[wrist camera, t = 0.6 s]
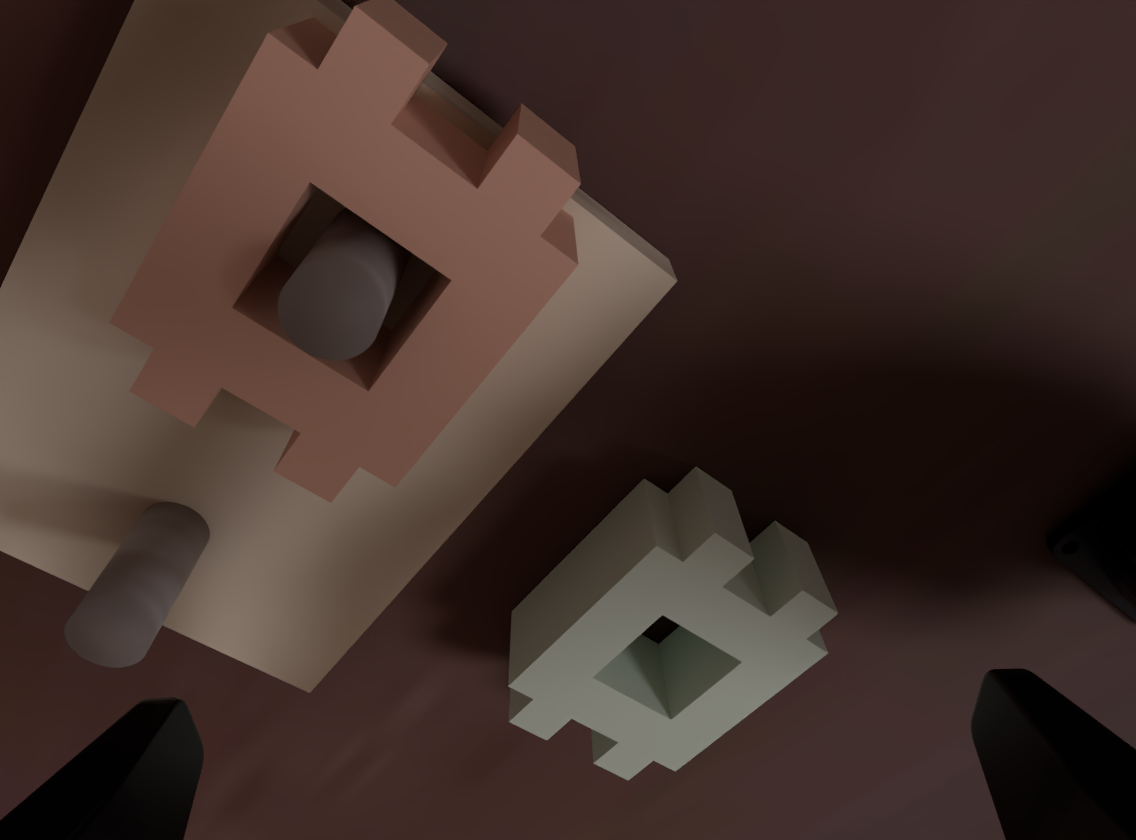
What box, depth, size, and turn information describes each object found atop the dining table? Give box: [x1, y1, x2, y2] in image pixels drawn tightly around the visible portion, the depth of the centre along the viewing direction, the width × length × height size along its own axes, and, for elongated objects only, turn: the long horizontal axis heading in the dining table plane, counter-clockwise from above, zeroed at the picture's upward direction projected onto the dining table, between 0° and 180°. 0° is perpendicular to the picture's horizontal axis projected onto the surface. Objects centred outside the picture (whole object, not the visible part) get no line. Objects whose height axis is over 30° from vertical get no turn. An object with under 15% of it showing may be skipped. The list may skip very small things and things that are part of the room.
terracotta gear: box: [109, 0, 581, 503], centre depth 17 cm, size 6×9×3 cm
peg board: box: [0, 0, 677, 693], centre depth 19 cm, size 12×17×6 cm
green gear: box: [508, 467, 838, 780], centre depth 24 cm, size 6×9×3 cm
